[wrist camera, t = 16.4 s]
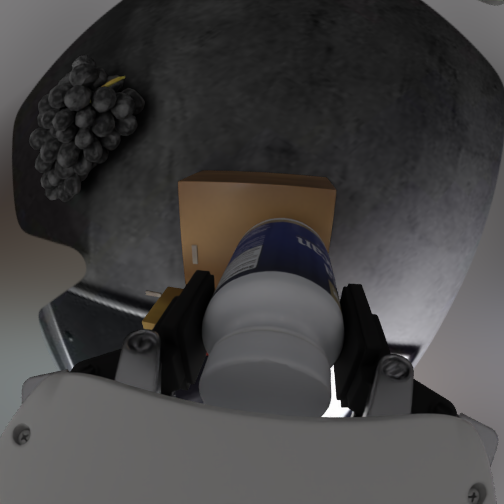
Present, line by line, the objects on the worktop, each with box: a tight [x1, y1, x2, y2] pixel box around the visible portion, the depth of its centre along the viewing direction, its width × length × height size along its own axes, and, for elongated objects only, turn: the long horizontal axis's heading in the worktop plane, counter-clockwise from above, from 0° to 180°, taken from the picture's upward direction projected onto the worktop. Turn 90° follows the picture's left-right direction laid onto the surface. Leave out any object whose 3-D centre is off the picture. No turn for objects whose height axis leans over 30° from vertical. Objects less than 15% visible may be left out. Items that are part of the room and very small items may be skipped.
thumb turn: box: [142, 287, 208, 355], centre depth 18 cm, size 5×2×5 cm, turn 88°
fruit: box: [29, 55, 145, 202], centre depth 17 cm, size 9×8×15 cm
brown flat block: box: [146, 171, 336, 297], centre depth 21 cm, size 14×14×5 cm
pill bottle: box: [199, 218, 345, 417], centre depth 11 cm, size 5×5×10 cm
